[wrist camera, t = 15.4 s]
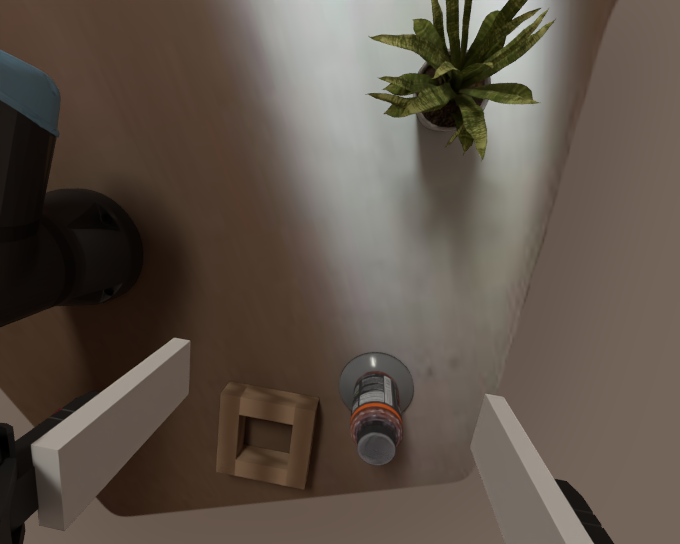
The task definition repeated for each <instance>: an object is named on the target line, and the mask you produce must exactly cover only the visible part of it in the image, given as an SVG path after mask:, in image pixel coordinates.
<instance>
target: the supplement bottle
mask: <svg viewBox="0 0 680 544" xmlns="http://www.w3.org/2000/svg"><path fill="white" fill-rule="evenodd" d="M350 433H351V437H352V439H353V441H354V443H355V444H356V446H357V450H358V454H359V456H360V457H361V458H362V459H363V460H364V461H365V462H367V463H369V464H371V465H384V464H387V463H388V462H390V461H391V460H392V459H393V457H394V455H395V451H396V447H397V446H398V445H399V444H400V442H401V439H402V436H403V426H402V417H401V409H400V400H399V391H398V387H397V384H396V382H395V381H394V379H393V378H392V377H391V376H389V375H388V374H386V373H384V372H380V371H371V372H367V373H365V374H363V375H362V376H361V377H360V378H359V379H358V380H357V382H356V384H355V387H354V393H353V402H352V411H351V421H350Z"/></svg>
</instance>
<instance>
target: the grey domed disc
mask: <svg viewBox="0 0 680 544" xmlns="http://www.w3.org/2000/svg"><path fill="white" fill-rule="evenodd" d="M371 371H380V372H384V373H386V374H388V375H389V376H391V377H392V378H393V379H394V381H395V382H396V384H397V387H398V391H399V400H400V409H401V412H403V411H404V410H405V409H406V408H407V406H408V405H409V403H410V402H411V399H412V396H413V391H414V386H413V380H412V377H411V374H410V372H409V370H408V369H407V367H406V366H405V365H404V364H403V363H402V362H401V361H400V360H398V359H397V358H395V357H393V356H391V355H388V354H385V353H378V352H372V353H366V354H362V355H359V356H357V357H355V358H354V359H352V360H351V361H350V362H349V363H348V364H347V365H346V366H345V368H344V369H343V371H342V374H341V377H340V383H339V390H340V395H341V397H342V400H343V402H344V403H345V405H346V406H347V407H348V408H349V409H350V410H351V411H352V402H353V393H354V387H355V384H356V382H357V380H358V379H359V378H360V377H361V376H362V375H363V374H365V373H367V372H371Z"/></svg>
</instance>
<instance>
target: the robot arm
mask: <svg viewBox="0 0 680 544" xmlns="http://www.w3.org/2000/svg"><path fill="white" fill-rule="evenodd" d="M60 101H61V97H60V92H59V89H58V87H57V85H56V84H55V83H54V81H53V80H52V79H51V78H50V77H49V76H48V75H47V74H46V73H44V72H43V71H41V70H39V69H37V68H36V67H34V66H32V65H30V64H28V63H26V62H24V61H22V60H20V59H18V58H16V57H14V56H12V55H10V54H8V53H6V52H4V51H2V50H0V327H2V326H5V325H7V324H10V323H13V322H15V321H18V320H20V319H23V318H25V317H28V316H30V315H33V314H36V313H38V312H41V311H43V310H46V309H49V308H51V307H54V306H72V305H94V304H99V303H103V302H106V301H109V300H111V299H113V298H116V297H118V296H120V295H122V294H124V293H125V292H127V291H128V290H129V289H130V288H131V287H132V286H133V284H134V283H135V282H136V280H137V278H138V276H139V273H140V271H141V267H142V260H143V252H142V244H141V240H140V237H139V234H138V231H137V229H136V227H135V225H134V223H133V222H132V220H131V218H130V217H129V216H128V214H127V213H126V212H125V211H124V210H123V209H122V208H121V207H120V206H119V205H118V204H117V203H116V202H114V201H113V200H112V199H110V198H108V197H107V196H105V195H103V194H101V193H98V192H96V191H92V190H88V189H59V190H54V191H50V192H47V193H46V189H47V184H48V179H49V174H50V168H51V163H52V158H53V153H54V148H55V143H56V138H57V137H59V131H58V129H57V126H58V118H59V110H60ZM189 368H190V340H184V339H179V338H173V339H172V340H170V341H169V342H168V343H166V344H165V345H164V346H162V347H161V348H160V349H158V350H157V351H156V352H154V353H153V354H152V355H150V356H149V357H148V358H146V359H145V360H144V361H142V362H141V363H140V364H138V365H137V366H136V367H134V368H133V369H132V370H130V371H129V372H128V373H126V374H125V375H124V376H122V377H121V378H120V379H118V380H117V381H116V382H114V383H113V384H111V385H110V386H109V387H107V388H106V389H105V390H103V391H102V392H97V391H92V392H90V393H87V394H85V395H83V396H80V397H78V398H76V399H75V400H73V401H72V402H70V403H69V404H67V405H66V406H65V407H63V408H62V410H59V411H58V412H56V413H55V414H53V415H52V416H51V417H50V419H49V418H48V419H46V420H45V421H43V422H42V423H41V424H39V425H38V426H36V427H35V428H33V429H32V430H31V431H29V432H28V433H26V434H25V435H24V436H22V437H21V438H20V439H18V440H16V441H15V440H14V431H13V427H12V426H11V425H9V424H7V423H0V544H23V540H24V535H25V524H24V522H25V521H26V520H27V519H28V518H29V517H30V516H31V515H32V514H33V513H34V512H35V511H36V510H37V509H38V518H39V525H40V526H44V527H48V528H53V529H58V530H62V531H65V530H66V529H67V528H68V527H69V526H70V524H71V523H72V522H73V521H74V520H75V519H76V518H77V517H78V516H79V515H80V513H81V512H82V511H83V510H84V509H85V508H86V507H87V506H88V505H89V503H90V502H91V501H92V500H93V499H94V498H95V497H96V496H97V495H98V494H99V492H100V491H101V490H102V489H103V488H104V487H105V486H106V485H107V484H108V482H109V481H110V480H111V479H112V478H113V477H114V476H115V475H116V474H117V473H118V471H119V470H120V469H121V468H122V467H123V466H124V465H125V464H126V463H127V461H128V460H129V459H130V458H131V457H132V456H133V455H134V454H135V453H136V452H137V450H138V449H139V448H140V447H141V446H142V445H143V444H144V443H145V442H146V440H147V439H148V438H149V437H150V436H151V435H152V434H153V433H154V432H155V430H156V429H157V428H158V427H159V426H160V425H161V424H162V423H163V422H164V421H165V419H166V418H167V417H168V416H169V415H170V414H171V413H172V412H173V411H174V409H175V408H176V407H177V406H178V405H179V404H180V403H181V402H182V401H183V400H184V398H185V397H186V396H187V395H188V394H189ZM470 448H471V451H472V454H473V457H474V459H475V462H476V465H477V467H478V470H479V473H480V476H481V478H482V481H483V484H484V486H485V489H486V492H487V495H488V497H489V500H490V503H491V506H492V508H493V511H494V514H495V517H496V519H497V522H498V524H499V527H500V530H501V533H502V536H503V538H504V541H505V544H614V543H613V541H612V540H611V538H610V537H609V536H608V534H607V532H606V531H605V530H604V528H602V527H601V523H600V522H599V521H598V519H597V518H596V516H595V515H593V513H592V510H591V509H590V507H589V506H588V504H587V503H586V501H585V500H584V498H583V497H582V496H581V495H580V494H579V493H578V492H577V491H576V490H575V489H574V488H573V487H572V486H571V485H570V484H569V483H568V482H567V481H563V480H558V479H554V478H553V477H552V475H551V473H550V472H549V470H548V469H547V467H546V465H545V464H544V462H543V460H542V459H541V457H540V455H539V454H538V452H537V451H536V449H535V447H534V446H533V444H532V442H531V441H530V439H529V438H528V436H527V434H526V433H525V431H524V429H523V428H522V426H521V425H520V423H519V421H518V420H517V418H516V417H515V415H514V413H513V412H512V410H511V408H510V407H509V405H508V403H507V402H506V400H505V399H504V397H500V396H495V395H489V394H485V397H484V400H483V404H482V407H481V411H480V414H479V418H478V421H477V425H476V428H475V432H474V436H473V439H472V443H471V446H470Z"/></svg>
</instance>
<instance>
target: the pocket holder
mask: <svg viewBox="0 0 680 544" xmlns="http://www.w3.org/2000/svg"><path fill="white" fill-rule="evenodd" d="M318 402H319V398H317V397H312V396H307V395H301V394H296V393H291V392H285V391H280V390H274V389H269V388H264V387H258V386H253V385H248V384H242V383H237V382H232V381H230V382H229V383H228V385H227V386H226V387H225V389H224V390H223V391H222V393H221V399H220V415H219V432H218V448H217V465H216V472H220V473H225V474H230V475H235V476H240V477H245V478H250V479H254V480H259V481H264V482H269V483H274V484H279V485H284V486H289V487H294V488H299V489H305V484H306V480H307V476H308V471H309V464H310V457H311V450H312V443H313V436H314V429H315V422H316V416H317V409H318ZM246 416H249V417H254V418H259V419H265V420H270V421H275V422H280V423H285V424H291V425H293V429H292V437H291V445H290V453H285V452H280V451H275V450H270V449H264V448H259V447H254V446H249V445H244V433H245V421H246Z"/></svg>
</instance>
